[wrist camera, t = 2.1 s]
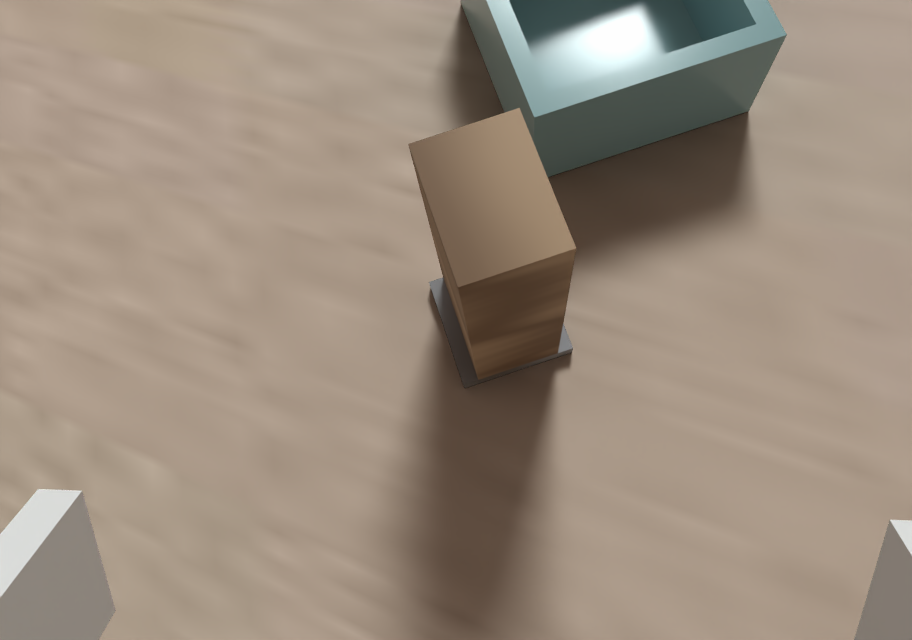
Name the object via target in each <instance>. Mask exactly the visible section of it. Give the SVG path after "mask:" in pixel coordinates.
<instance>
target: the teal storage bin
mask: <svg viewBox="0 0 912 640" xmlns="http://www.w3.org/2000/svg"><path fill="white" fill-rule="evenodd" d="M461 4H462V7H463V9H464V12H465V14H466V17H467V20H468V22H469V25H470V27H471V30H472V32H473V35H474V37H475V40H476V42H477V45H478V47H479V50H480V52H481V55H482V57H483V60H484V62H485V65H486V67H487V70H488V72H489V75H490V77H491V80H492V82H493V85H494V88H495V90H496V93H497V95H498V98H499V100H500V103H501V105H502V108H503V110H504V113H505V112H508V111H511V110H514V109H517V108H520V110H521V113H522V115H523V118H524V120H525V123H526V125H527V128H528V130H529V133H530V135H531V137H532V140H533V142H534V145H535V147H536V150H537V152H538V155H539V157H540V160H541V162H542V165H543V167H544V170H545V172H546V174H547V177H550V176H553V175H556V174H559V173H562V172H565V171H568V170H571V169H574V168H577V167H580V166H583V165H586V164H589V163H592V162H595V161H599V160H602V159H605V158H608V157H611V156H614V155H617V154H620V153H623V152H626V151H629V150H632V149H635V148H638V147H641V146H644V145H647V144H650V143H653V142H656V141H659V140H662V139H665V138H668V137H671V136H674V135H678V134H681V133H684V132H687V131H690V130H693V129H696V128H699V127H702V126H705V125H708V124H711V123H714V122H717V121H720V120H723V119H726V118H729V117H732V116H735V115H738V114H741V113H744V112H747V111H749V109H750V107H751V105H752V103H753V101H754V99H755V97H756V95H757V93H758V91H759V89H760V87H761V85H762V83H763V81H764V79H765V77H766V75H767V73H768V71H769V69H770V67H771V65H772V63H773V61H774V59H775V57H776V55H777V53H778V51H779V49H780V47H781V45H782V43H783V41H784V39H785V37H786V35H787V34H786V33H785V31H784V29H783V27H782V25H781V23H780V22H779V20H778V18H777V16H776V14H775V13H774V11H773V9H772V7H771V5H770V3H769V2H768V0H461Z"/></svg>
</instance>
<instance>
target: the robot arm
mask: <svg viewBox="0 0 912 640" xmlns="http://www.w3.org/2000/svg"><path fill="white" fill-rule="evenodd" d="M115 611H116V610H115V606H114V603H113V599H112V596H111V592H110V589H109V585H108V581H107V578H106V574H105V571H104V567H103V564H102V560H101V556H100V553H99V549H98V546H97V542H96V539H95V535H94V531H93V528H92V524H91V521H90V517H89V514H88V510H87V506H86V503H85V499H84V496H83V492H82V491H75V490H48V489H38V490H37V491H36V492H35V494H34V495H33V496H32V497H31V498H30V500H29V501H28V502H27V503H26V504H25V506H24V507H23V508H22V509H21V510H20V511H19V513H18V514H17V515H16V516H15V517H14V519H13V520H12V521H11V522H10V523H9V524H8V526H7V527H6V528H5V529H4V530H3V532H2V533H1V534H0V640H99V638H100V636H101V635H102V633H103V631H104V630H105V628H106V626H107V624H108V623H109V621H110V619H111V618H112V616H113V614H114V612H115ZM854 640H912V521H909V520H890V521H889V524H888V527H887V531H886V534H885V537H884V541H883V544H882V548H881V551H880V554H879V558H878V561H877V564H876V568H875V571H874V575H873V578H872V581H871V585H870V588H869V591H868V595H867V598H866V602H865V605H864V608H863V612H862V615H861V618H860V622H859V625H858V629H857V632H856V635H855V639H854Z"/></svg>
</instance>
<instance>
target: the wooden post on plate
mask: <svg viewBox="0 0 912 640" xmlns="http://www.w3.org/2000/svg"><path fill="white" fill-rule="evenodd" d="M408 145H409V148H410V152H411V156H412V160H413V164H414V167H415V171H416V175H417V179H418V183H419V187H420V190H421V194H422V198H423V202H424V206H425V209H426V213H427V217H428V221H429V225H430V228H431V232H432V236H433V240H434V244H435V247H436V251H437V255H438V259H439V263H440V267H441V270H442V274H443V278H440V279H437V280H434V281H431V282H429V284H430V287H431V290H432V293H433V296H434V299H435V302H436V305H437V308H438V311H439V314H440V317H441V320H442V323H443V326H444V329H445V332H446V335H447V338H448V341H449V344H450V347H451V350H452V353H453V356H454V359H455V362H456V365H457V368H458V371H459V373H460V376H461V379H462V382H463V385H464V388H467V387H470V386H473V385H476V384H479V383H482V382H485V381H488V380H491V379H494V378H497V377H500V376H503V375H506V374H509V373H512V372H515V371H518V370H521V369H524V368H526V367H529V366H532V365H535V364H538V363H541V362H544V361H547V360H550V359H553V358H556V357H559V356H562V355H565V354H568V353H571V352H572V350H573V347H572V345H571V342H570V339H569V337H568V334H567V332H566V329H565V326H564V324H563V322H564V316H565V310H566V305H567V299H568V293H569V287H570V282H571V276H572V270H573V265H574V259H575V253H576V246H575V244H574V241H573V239H572V236H571V234H570V231H569V229H568V226H567V224H566V221H565V219H564V216H563V214H562V211H561V209H560V207H559V204H558V202H557V199H556V197H555V194H554V192H553V189H552V187H551V184H550V182H549V179H548V177H547V174H546V172H545V170H544V167H543V165H542V162H541V160H540V157H539V155H538V152H537V150H536V147H535V145H534V142H533V140H532V137H531V135H530V133H529V130H528V128H527V125H526V123H525V120H524V118H523V115H522V113H521V110H520V108H517V109H514V110H511V111H508V112H505V113H502V114H499V115H496V116H493V117H490V118H487V119H484V120H481V121H478V122H475V123H471V124H468V125H465V126H462V127H459V128H456V129H453V130H450V131H447V132H444V133H441V134H438V135H435V136H432V137H429V138H426V139H423V140H419V141H416V142H413V143H410V144H408Z"/></svg>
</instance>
